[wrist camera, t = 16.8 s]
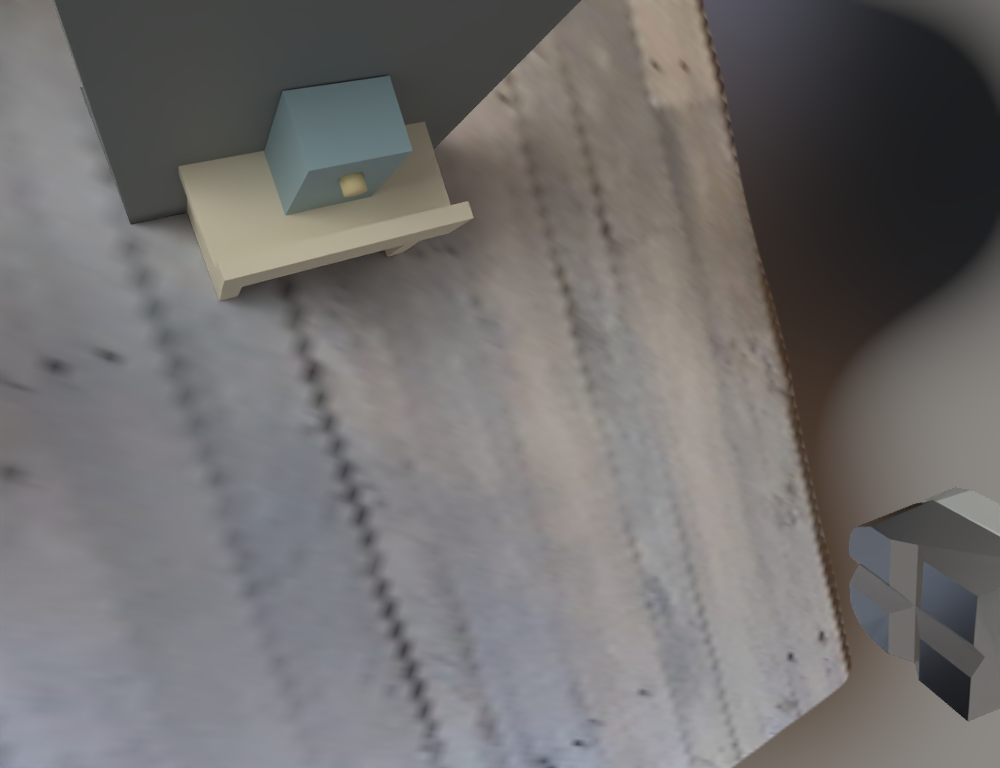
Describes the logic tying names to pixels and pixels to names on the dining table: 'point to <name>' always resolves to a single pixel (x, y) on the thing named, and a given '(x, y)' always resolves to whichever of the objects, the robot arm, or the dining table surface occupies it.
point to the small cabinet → (335, 143)
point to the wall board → (253, 104)
